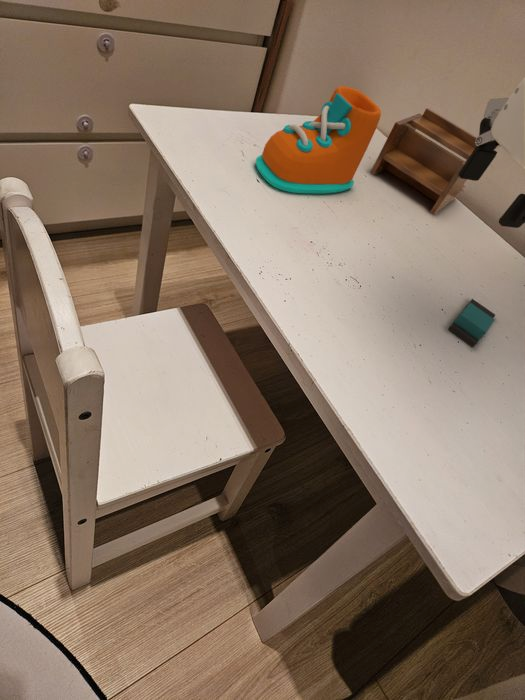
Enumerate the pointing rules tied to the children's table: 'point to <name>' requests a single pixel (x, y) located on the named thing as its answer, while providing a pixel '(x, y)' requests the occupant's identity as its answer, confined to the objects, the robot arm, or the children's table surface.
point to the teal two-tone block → (472, 323)
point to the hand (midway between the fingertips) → (486, 200)
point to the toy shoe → (322, 146)
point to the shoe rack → (427, 156)
